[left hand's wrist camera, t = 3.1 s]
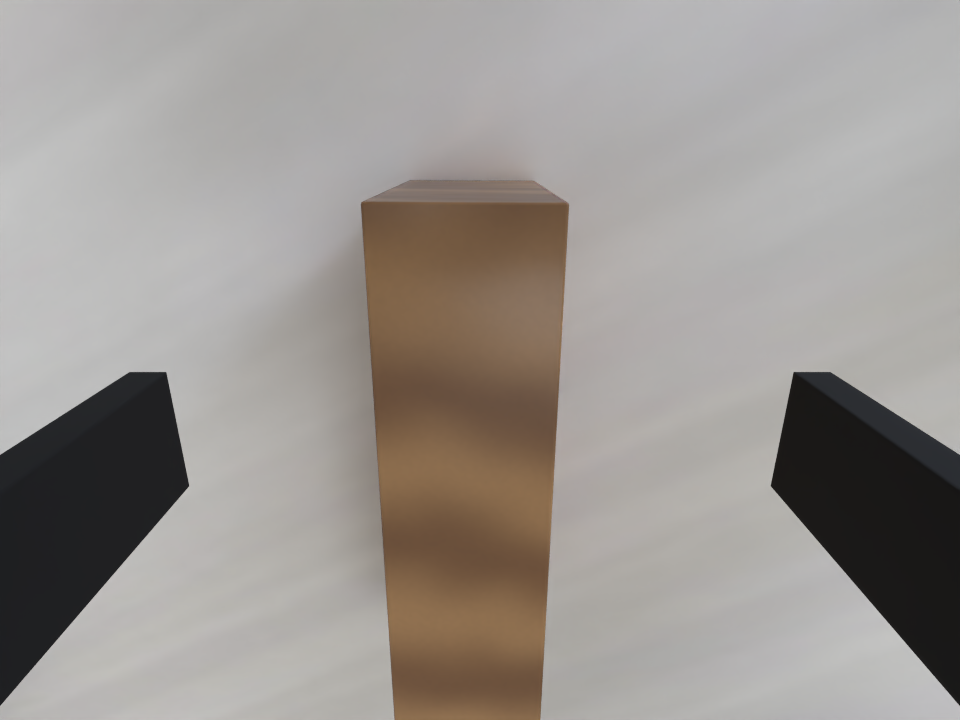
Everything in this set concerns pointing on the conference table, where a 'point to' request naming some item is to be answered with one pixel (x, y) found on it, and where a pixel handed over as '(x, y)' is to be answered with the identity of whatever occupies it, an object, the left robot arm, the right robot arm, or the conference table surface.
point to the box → (466, 436)
